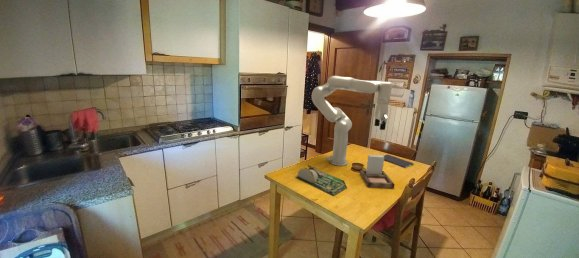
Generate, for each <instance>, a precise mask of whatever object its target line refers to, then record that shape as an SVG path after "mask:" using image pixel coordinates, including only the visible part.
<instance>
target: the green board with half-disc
mask: <svg viewBox="0 0 579 258" xmlns="http://www.w3.org/2000/svg"><path fill="white" fill-rule="evenodd" d="M307 167H308V168H307ZM307 167H304V168H300V169H299V170H298V172H297V175H296V177H295V179H297V180H299V181H301V182H303V183H305V184H307V185H309V186H311V187H313V188H316V189H318V190H320V191H322V192H323V193H326V194H327V195H330V196H332V197H334V196H336V195H338V194H340V193H341V192H344V191H345V190H347V189H348V187H347V185H346V182H345V180H344V179H341V178H340V177H336V176H334V175H332V174H329V173H327V172H325V171H322V170H320V169H318V168H316V167H315V166H311V165H309V164H307Z"/></svg>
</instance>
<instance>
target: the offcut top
mask: <svg viewBox="0 0 579 258" xmlns="http://www.w3.org/2000/svg"><path fill="white" fill-rule="evenodd" d="M368 179H369V181H370V182H383V183H387V181H386V180H385V179H382V178H368Z"/></svg>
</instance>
